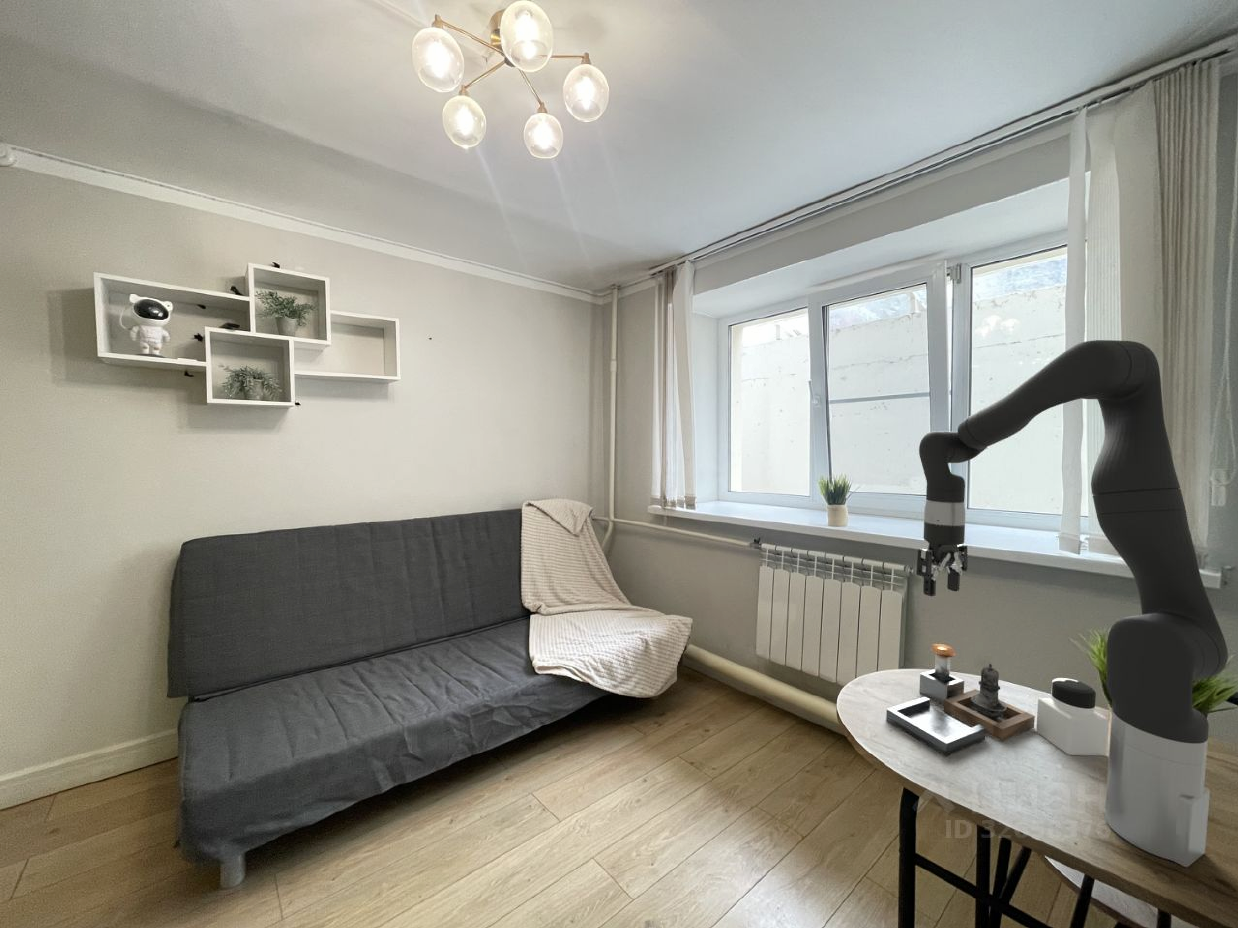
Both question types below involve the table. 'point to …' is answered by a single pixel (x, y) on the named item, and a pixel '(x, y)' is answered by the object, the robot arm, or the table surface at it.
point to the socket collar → (1002, 731)
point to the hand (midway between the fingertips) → (941, 592)
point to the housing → (940, 686)
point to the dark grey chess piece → (989, 695)
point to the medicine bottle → (1072, 719)
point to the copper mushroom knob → (942, 661)
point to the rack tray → (934, 727)
